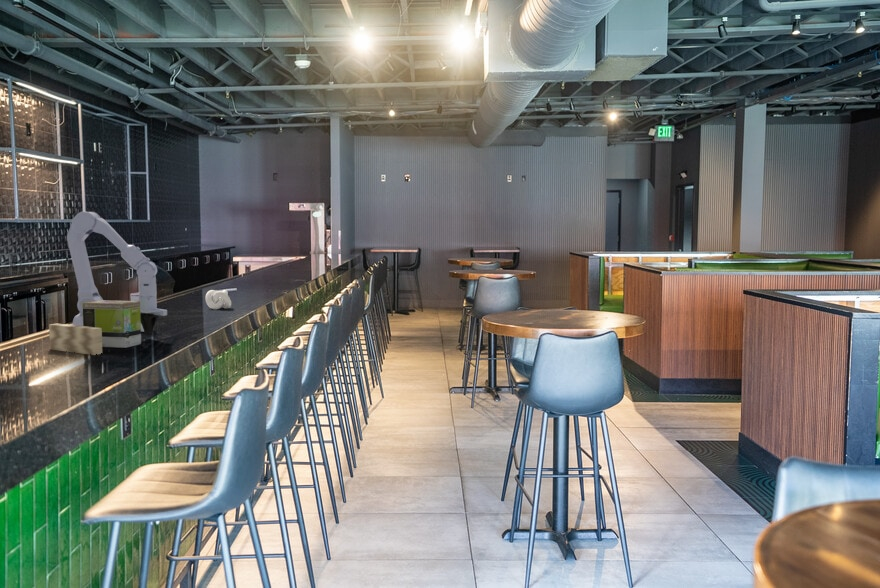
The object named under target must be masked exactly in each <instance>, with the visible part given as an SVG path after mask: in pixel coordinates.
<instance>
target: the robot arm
mask: <svg viewBox="0 0 880 588" xmlns="http://www.w3.org/2000/svg"><path fill="white" fill-rule="evenodd" d="M70 224H71V225H70V227H69V229H68V231H67V235H66V240H67V245H68V248H69V254H70V257H71V261H72V262H71V263H72V266H73V270H74V274H75V279H76V284H77V288H78V291H77V298H78V301H77V304H76V307H77V310H78V311H79V312H78V314H77V315H75V316H74V318H73V320H72V325H77V326H83V303H85V302H92V301H100V300H104V299H103V297H102V296H101V295H100V293H99V291H98V287H96V284H95V281H94V276H93V273H92V268H91V263H90V259H89V256H88V252H87V251H88V250H87V247H86V242H85V240H86V239H87V238H88V237H89V236H90V235H91V233H93V232H94V233H97V234H99V235H102V236H104V237H105V238H106V239H107V240H109V242H110V243H111V244H112V245H114V246H115V247H116V248H117V249H118V250H119V251H120V257H121V258H122V259H123V260H124V261H125V262H126V263H127V264H128V265H129V266H130V267H131V268H132V269H133V270H136V275H137V277H138V281H139V282H138V292H139V301H140V318H141V324H142V326H143V329H144V336H151V335H153V332H154V329H155V325H156V322H157V320H158V319H159V317H160V316H161V317H164V316H168V310H167V309H162V308H157V307H158V305H157V304H158V300H157V295H158V294H157V293H158V292H157V278H156V275H157V273H158V267H157V265H156V263H155V262H153V261H152V260H151V259H150V258H149V257H146V255H144V254H143V252H142V251H141V248H140V247H139V246H135V244H128V242H126V241H125V239H123V237H122V236H121V235H120V234H119V233H118V232H117V231H116V230H115V228H113V226H112V225H110V223H108V222H107V220H106V219H104V218H103V217H101V216H100V215H99V214H98V213H97V212H95V211H80V212H78V213H77V214H76V215H75V216H74V217H73V218H72V219H71V223H70ZM144 312H151V313H144ZM153 328H154V329H153Z"/></svg>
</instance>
